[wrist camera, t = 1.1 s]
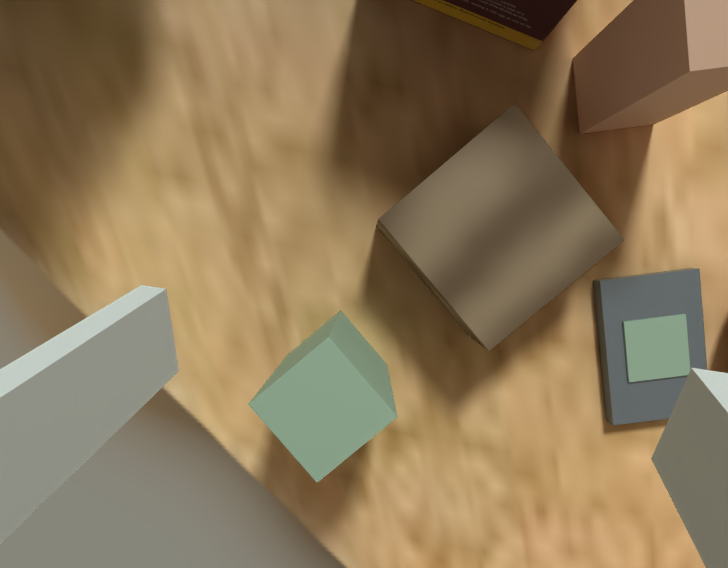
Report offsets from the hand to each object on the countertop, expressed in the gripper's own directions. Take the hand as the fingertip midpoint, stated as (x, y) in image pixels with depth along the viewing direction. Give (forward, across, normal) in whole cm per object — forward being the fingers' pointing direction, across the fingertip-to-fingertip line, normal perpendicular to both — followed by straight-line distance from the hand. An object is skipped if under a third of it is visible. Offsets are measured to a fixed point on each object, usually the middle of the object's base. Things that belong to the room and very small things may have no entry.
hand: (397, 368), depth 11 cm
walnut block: (+26, +3, -4) cm, 27 cm away
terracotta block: (+32, +12, +7) cm, 35 cm away
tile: (+26, +18, -12) cm, 34 cm away
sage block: (+20, -7, -14) cm, 26 cm away
